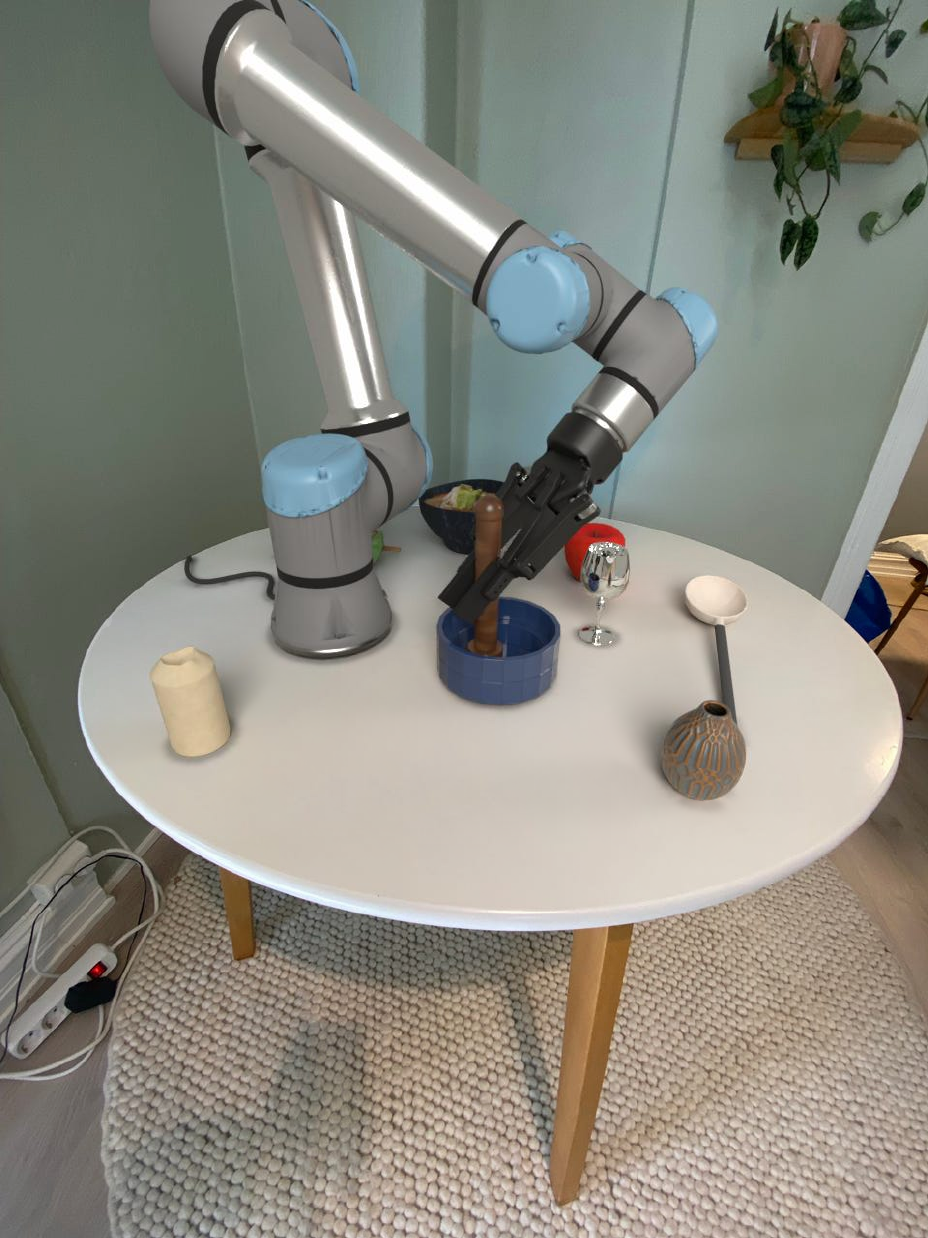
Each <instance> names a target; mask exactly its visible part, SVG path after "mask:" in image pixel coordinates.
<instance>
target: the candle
mask: <svg viewBox="0 0 928 1238" xmlns="http://www.w3.org/2000/svg"><path fill="white" fill-rule="evenodd" d="M215 663H216V662H215V660H214V658H213V657H212V656H211V655H210V654H209V653H206V652H205V651H202V650H200V649H198V648H196V647H195V646H186V647H183V648H182V649H180V650H176V651H173V652H169V653H167V654H164V655H163V656H162V657H160V658H159V660H157V661H156V663H155V664H154V665H153V666H152V668H151V669H150V671H149V678H150V682H151V685H152V688H153V691H154V692H153V693H154V694H155V698H156V700H157V704H158V708H159V711H160V714H161V718H162V719H163V720H162V721H163V723H164V726H165V729H166V733H167V735H168V739H169V742H170V745H171V747H172V749H173V750H174V752H175V753H176V754H178V755H180V756H183V757H188V758H189V757H190V758H193V757H194V758H196V757H202V756H205V755H209V754H211V753H213V752H215V751H217V750H219V749H220V748H222V747H223V746H224V745H225V744H226V743H227V742H228V740H229V739H230V736H231V724H230V721H229V716H228V712H227V707H226V703H225V700H224V696H223V691H222V688H221V684H220V679H219V675H218V671H217V667H216V664H215Z"/></svg>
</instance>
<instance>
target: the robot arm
mask: <svg viewBox="0 0 928 1238" xmlns="http://www.w3.org/2000/svg"><path fill="white" fill-rule="evenodd" d="M148 20H149V33H150V37H151V43H152V46H153V51H154V53H155V56H156V59H157V62H158V64H159V67H160V69H161V71H162V73H163V75H164V76H165V78H166V80H167V82H168V83H169V85H170V86H171V88H172V89H173V90H174V92H175V93H176V95H177V96H178V97H179V98H180V99H181V100H182V101H183V102H184V103H185V104H186V105H187V106H188V107H189V108H190V109H191V110H193V111H194V112H195V113H197V114H198V115H199V116H200V117H202V118H204V119H205V120H207V121H208V122H209V123H210V124H212V125H213V126H214V127H216V128H217V129H219V130H221V132H223V133H224V134H225V135H227V136H228V137H230V138H231V139H232V140H234V142H236V143H238V144H240V145H242V146H243V147H244V151H245V155H246V158H247V162H248V166H249V169H250V171H252V172H253V173H254V174H255V175H256V176H258V177H259V178H260V179H261V180H263V181H264V182H265V183H266V184H267V185H268V187H269V191H270V195H271V198H272V201H273V202H272V203H273V206H274V210H275V214H276V217H277V221H278V225H279V228H280V234H281V237H282V240H283V244H284V249H285V252H286V256H287V259H288V263H289V268H290V272H291V275H292V279H293V282H294V286H295V290H296V293H297V298H298V302H299V305H300V309H301V314H302V317H303V320H304V321H303V322H304V325H305V328H306V332H307V336H308V341H309V344H310V348H311V353H312V355H313V359H314V363H315V367H316V371H317V374H318V378H319V383H320V386H321V390H322V394H323V398H324V401H325V405H326V413H325V415H324V417H323V419H322V420H321V422H320V424H319V429H320V433H315V434H309V435H307V436H305V437H295V438H293V439H289V440H287V441H284V442H281V443H280V444H278V445H276V446H275V447H274V448H272V449H270V451H269V452H268V453H267V454H266V455H265V457H264V459H263V461H262V463H261V479H262V480H261V481H262V488H261V495H262V499H263V502H264V506H265V511H266V517H267V523H268V528H269V534H270V540H271V545H272V550H273V556H274V563H275V567H276V573H277V584H276V589H275V593H273V587H274V577H273V576H272V575H271V573H268V572H264V571H258V570H257V571H255V570H253V571H244V572H239V573H234V574H229V575H225V576H219V577H214V578H199V577H194V575H192V573H191V570H190V567H191V562H192V559H193V556H192V555H187V556H186V558H185V560H184V565H183V567H184V568H183V570H184V574H185V576H186V578H187V579H188V580H189V581H190V582H192V583H195V584H198V585H199V584H200V585H211V584H219V583H224V582H229V581H233V580H238V579H242V578H248V577H262V578H265V579H267V581H268V582H267V587H266V596H267V597H268V598H269V599H271V600H273V605H272V606H273V608H272V611H271V615H270V631H271V637H272V639H273V642H274V643H275V645H276V646H277V647H278V648H279V649H280V650H282V651H284V652H285V653H288V654H289V655H293V656H295V657H299V658H303V659H312V660H334V659H341V658H347V657H351V656H354V655H358V654H360V653H363V652H366V651H368V650H371V649H372V648H374V647H376V646H378V645H379V644H380V643H382V642H383V641H384V640H386V638H387V637H388V635H389V634H390V632H391V629H392V628H393V614H392V610H391V606H390V602H389V601H388V598H389V597H388V595H387V592H386V590H384V589H383V588H382V585H381V582H380V581H379V578H378V576H377V573H376V571H375V563H374V561H373V548H372V532H373V531H375V530H377V529H379V528H380V527H382V526H384V525H385V524H386V523H388V522H389V521H391V520H393V519H394V518H395V517H397V516H398V515H400V514H401V513H403V512H406V511H407V510H409V509H410V508H412V507H413V506H414V505H415V504H416V503H417V502H418V501H419V498H420V497H421V496H422V495H423V494H424V492H425V491H426V490H427V489H429V486H430V483H431V481H432V477H433V470H434V458H433V454H432V449H431V446H430V445H429V442H428V440H427V439H426V437H425V436H424V435H423V433H420V432H419V431H418V429H417V427H415V426H414V425H412V422H411V421H412V420H411V416H410V412H409V408H408V406H407V405H405V404H404V403H403V402H401V401H400V400H399V399H397V398H396V397H395V395H394V393H393V389H392V384H391V378H390V374H389V368H388V365H387V360H386V359H387V358H386V355H385V350H384V346H383V341H382V336H381V332H380V328H379V321H378V318H377V312H376V308H375V303H374V299H373V295H372V290H371V286H370V280H369V276H368V275H369V274H368V272H367V267H366V262H365V257H364V252H363V248H362V242H361V238H360V233H359V228H358V224H357V219H359V220H360V221H361V222H363V223H364V224H365V225H367V226H368V227H370V228H371V229H372V230H373V231H375V232H376V233H378V234H379V235H380V236H381V237H382V238H384V239H385V240H387V241H388V242H389V243H391V244H392V245H393V246H394V247H396V248H397V249H398V250H400V251H401V252H403V253H404V254H405V255H407V256H408V257H409V258H411V259H412V260H414V262H416V263H417V264H419V265H420V266H421V267H423V269H425V270H426V271H428V272H429V273H430V274H432V275H433V276H434V277H436V278H437V279H438V280H440V281H441V282H442V283H444V284H445V285H446V286H448V287H449V288H450V289H452V290H453V291H454V292H456V293H457V294H458V295H460V296H461V297H462V298H464V299H465V300H466V301H468V302H469V303H470V304H471V305H473V306H474V307H476V308H477V309H478V310H479V311H481V312H482V313H483V315H485V316H487V318H488V321H489V323H490V326H491V328H492V329H491V330H493V332H494V334H495V335H496V337H497V338H498V339H499V341H500V342H501V343H502V344H504V345H505V346H506V347H508V348H509V349H511V350H513V351H514V352H518V353H521V354H525V355H526V354H528V355H542V354H547V353H553V352H557V351H559V350H561V349H562V348H564V347H566V346H568V345H570V343H573V344H574V345H576V346H577V347H578V348H580V349H581V350H582V351H584V352H585V353H586V354H587V355H589V356H590V357H592V359H593V360H594V361H595V362H597V363H599V364H600V365H602V368H601V369H600V370H599V371H598V372H597V374H596V375H595V376H594V377H593V379H591V380H590V382H589V383H588V385H587V386H586V387H585V388H584V389H583V391H582V392H581V393H580V394H579V396H578V397H577V398H576V399H575V401H574V402H573V403H572V404H571V408H570V409H571V411H570V412H566V413H565V414H564V415H563V416H562V418H561V419H560V420H559V421H558V423H557V424H556V425H555V426H554V428H553V429H551V432H550V433H549V434H548V435H547V437H546V450H545V452H544V453H543V454H542V455H541V456H540V457H539V458H538V459H536V460H534V461H533V463H532V464H531V465H527V466H522V464H520V463H519V462H517V461H516V462H513V464H511V466H510V468H509V470H508V473H507V475H506V478H505V480H504V481H503V482H504V483H503V485H502V486H501V487H500V489H499V490H498V492H497V493H496V495H495V496H496V497H498V498H499V499H500V500H501V501H502V503H503V505H504V515H503V518H502V532H501V550H502V549H503V548H504V547H505V546H506V545H507V544H508V543H509V542H510V541H511V540H512V538H513V537H514V538H513V540H512V541H511V542H510V544H509V546H508V547H507V549H506V550H505V552H504V553H503V555H502V556H501V557H500V558H499V557H497V556H496V557H495V562H496V563H497V564H498V565H499V566H500V567H499V566H498V565H496V564H495V563H494V562H491V563H490V564H489V565H488V567H487V568H486V569H485V570H484V572H483V573H482V574H481V575H480V577H479V578H478V579H477V580H476V582H475V545H476V524H475V525H474V526H473V528H472V529H471V531H470V532H469V537H470V538H471V539H472V540H473V543H474V544H473V546H474V548H473V550H472V551H471V553H470V554H467V557H465V559H464V560H463V561H462V562H461V564H460V565H459V567H457V570H456V574H455V575H454V576H453V577H452V578H451V580H450V581H449V582H448V584H447V585H446V586H445V587H444V589H443V590H442V591H441V592H440V594H439V595H438V596H437V599H438V600H439V601H441V603H443V604H444V605H446V606H447V607H448V608H449V607H450V608H452V609H453V610H452V612H453V613H455V614H456V615H457V616H458V617H460V618H461V619H463V620H464V621H465V622H467V623H468V624H470V625H471V626H472V625H473V623H474V622H475V621H476V620H477V618H478V617H479V616H480V615H481V613H482V612H483V611H484V610H485V608H486V607H487V606H488V605H489V603H490V602H491V601H495V600H496V599H497V598H498V597H499V596H500V597H501V594H502V593H503V592H504V591H505V590H506V588H508V586H509V585H510V584H511V582H512V581H514V579H518V578H523V579H526V580H527V581H532V580H533V579H536V577H537V576H538V575H539V574H540V572H542V570H544V568H545V567H546V566H547V565H548V564H549V563H550V562H551V561H552V560H553V559H554V558H555V557H556V556H557V554H558V553H559V552H560V551H561V550H562V549H564V546H565V545H566V544H567V543H568V541H569V540H570V539H571V538H572V537H573V536H574V535H575V534H576V533H577V532H578V531H579V530H580V529H581V528H582V527H583V526H584V525H586V524H587V523H591V521H593V520H595V519H596V518H598V517H599V516H600V515H601V512H602V510H601V508H600V507H599V506H598V504H597V503H596V502H595V501H594V500H593V498H592V493H593V491H594V489H595V485H602V484H604V483H605V482H606V481H607V479H608V478H609V477H610V476H611V475H612V473H613V472H614V471H615V470H616V469H617V467H618V466H619V465H620V463H621V462H622V461H623V458H624V453H627V452H630V451H631V449H632V448H633V447H634V446H635V444H636V443H637V441H639V439H640V438H641V437H642V436H643V434H644V433H645V432H646V430H647V429H648V428H649V427H650V425H652V423H653V422H654V421H655V420H656V419H657V417H658V416H659V415H660V414H661V412H662V411H663V410H664V409H665V408H666V406H667V405H668V404H669V403H670V401H672V399H673V398H674V396H675V395H676V394H677V393H678V392H679V390H680V389H681V388H682V387H683V385H684V384H686V382H687V381H688V380H689V378H690V377H691V376H692V375H693V374H694V372H695V371H696V370H697V369H698V368H699V366H700V364H701V362H702V361H703V360H704V358H705V357H706V355H707V354H708V353H709V351H710V350H711V348H712V347H713V346H714V345H715V342H716V340H717V338H718V335H719V321H718V318H717V315H716V312H715V311H714V309H713V308H712V306H711V305H710V303H708V301H707V300H706V299H704V298H703V297H702V296H701V295H699V294H698V293H697V292H695V291H691V292H689V291H688V290H687V289H686V288H685V287H681V286H673V287H669V288H667V289H665V290H664V291H662V292H661V293H660V294H659V295H657V296H656V297H653V296H652V295H650V293H646V292H645V291H644V290H642V289H640V288H639V287H637V286H636V285H635V284H634V283H633V282H632V281H630V280H629V279H628V278H627V277H625V275H623V274H622V273H621V272H620V271H618V270H617V269H616V268H614V267H613V266H612V264H610V263H608V261H606V260H605V259H603V257H601V256H600V255H599V254H597V252H595V251H594V250H593V248H592V246H590V245H588V243H585V242H583V241H582V240H579V239H578V238H576V237H575V236H573V235H572V234H571V233H569V232H568V231H566V230H561V229H560V230H556V231H554V232H552V233H551V234H550V235H549V236H546V235H545V234H544V233H542V232H541V231H540V230H539V229H537V227H536V228H535V227H534V226H533V225H531V224H530V223H528V222H526V221H525V219H523V218H522V217H521V216H519V215H518V214H517V213H515V212H514V211H513V210H511V209H510V208H509V207H507V205H505V204H504V203H502V202H500V201H499V200H498V199H497V198H496V197H494V196H493V195H492V194H491V193H488V191H486V190H485V189H484V188H482V187H481V186H480V185H478V184H477V183H476V182H474V181H473V180H472V179H470V178H469V177H467V175H465V174H464V173H462V172H461V171H460V170H458V169H457V167H454V166H453V165H452V164H450V163H449V162H448V161H446V160H445V159H444V158H443V157H441V156H440V155H439V154H437V153H436V152H434V151H433V150H432V149H431V148H430V147H428V146H427V145H425V144H424V143H423V142H422V141H420V140H419V139H417V138H416V137H415V136H413V135H412V134H411V133H409V132H408V131H407V130H406V129H404V128H403V127H401V125H399V124H397V123H396V122H395V121H393V120H392V119H391V118H389V117H388V116H387V115H385V114H384V113H383V112H382V111H380V110H379V109H378V108H376V107H375V106H374V105H372V104H371V103H370V102H369V101H367V100H366V99H365V98H364V97H362V96H361V88H360V87H361V86H360V79H359V78H360V77H359V73H358V68H357V65H356V62H355V61H356V60H355V59H354V55H353V53H352V51H351V49H350V46H349V44H348V43H347V41H346V39H345V37H344V36H343V34H342V33H341V31H340V30H339V29H338V28H337V27H336V26H335V24H334V23H333V22H332V21H331V20H329V19H328V18H327V17H326V16H324V14H323V13H322V12H321V11H320V10H319V9H318V8H317V7H315V6H314V5H313V4H312V3H311V2H309V1H307V0H149V10H148ZM356 217H357V219H356Z"/></svg>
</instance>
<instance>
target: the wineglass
mask: <svg viewBox="0 0 928 1238" xmlns="http://www.w3.org/2000/svg"><path fill="white" fill-rule="evenodd" d="M630 574H631V564H630V554H629V550H628V548H627V547H626V546H625V547H624V546H622V545H619V544H616V543H611V542H598V543H593V544H591V545H590V546H589V548H588V550H587V552H586V555H585V558H584V561H583V564H582V568H581V574H580V581H579V582H580V585H581V588H582V590H583V591H584V593H586V595H588V596H589V597H591V598H593V599H596V600H597V601H596V604H595V607H596V619H595V620H596V621H595V625H591V626H585V627H583V628H581V629H580V630H579V631H578V637H579V639H580V640H581V641H583V642H585V643H586V644H590V645H592V646H593V645H594V646H605V645H609V644H611V643H612V642H613V641H614V640H615V636H614V633H612V632H611V630H609V629H607V628H604V627H602V626H600V625H601V624H600V623H601V618H602V614H603V610H604V609H605V606H606V602H605V601H609V600H613V599H616V598H618V597H621V595H622V594H623V593H625V591H626V589H627V588H628V585H629V582H630Z"/></svg>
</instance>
